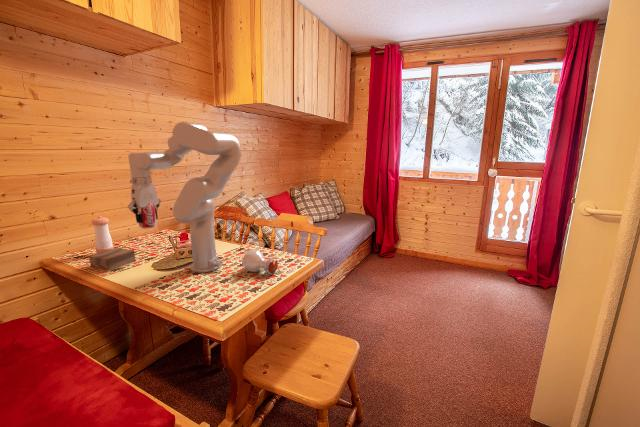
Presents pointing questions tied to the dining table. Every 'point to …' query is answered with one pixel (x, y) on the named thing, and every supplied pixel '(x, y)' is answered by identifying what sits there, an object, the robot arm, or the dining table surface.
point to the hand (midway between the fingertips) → (147, 220)
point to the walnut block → (112, 259)
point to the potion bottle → (258, 262)
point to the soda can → (148, 216)
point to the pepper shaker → (102, 234)
